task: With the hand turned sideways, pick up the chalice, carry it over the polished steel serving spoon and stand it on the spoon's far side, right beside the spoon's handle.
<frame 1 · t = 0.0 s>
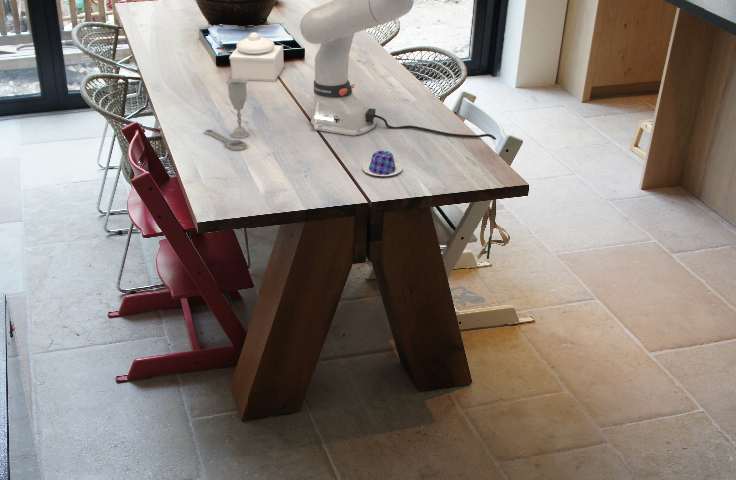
chalice: (240, 135, 282), on the table
spoon: (224, 140, 278), on the table
white square lidded jar: (257, 74, 335), on the table
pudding: (382, 170, 256), on the table
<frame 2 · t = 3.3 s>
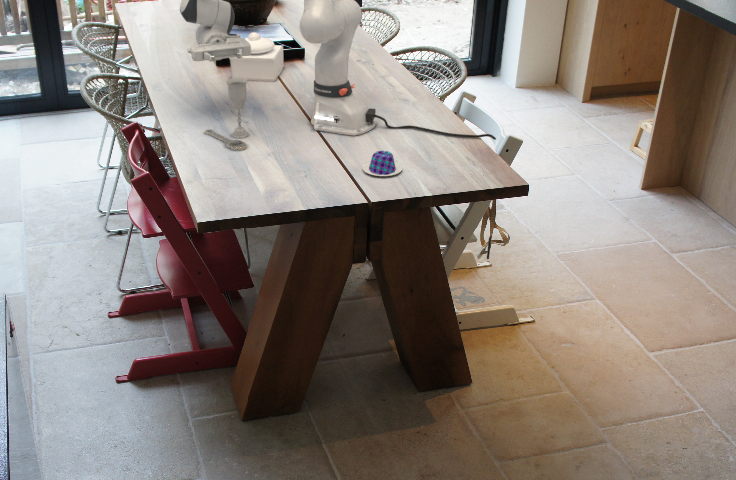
hand: (226, 57, 278), 22 cm above the table, tool horizontal, fingers open, 8 cm apart
nothing on the table moved.
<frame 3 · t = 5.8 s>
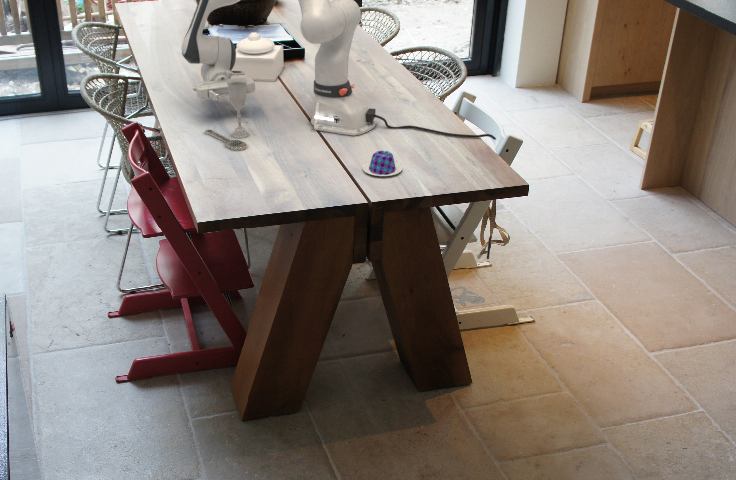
hand: (230, 95, 283), 10 cm above the table, tool horizontal, fingers open, 8 cm apart
nothing on the table moved.
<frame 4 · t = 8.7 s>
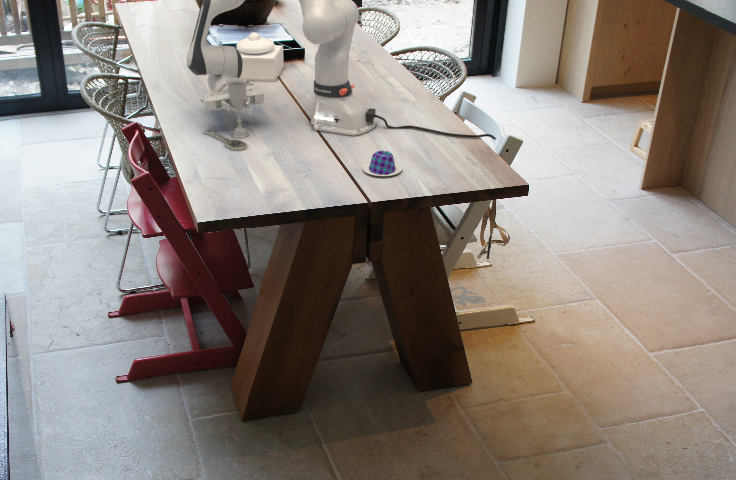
hand: (239, 106, 275), 10 cm above the table, tool horizontal, fingers closed on chalice, 5 cm apart
chalice: (240, 135, 282), on the table, touching gripper
everything else where it was.
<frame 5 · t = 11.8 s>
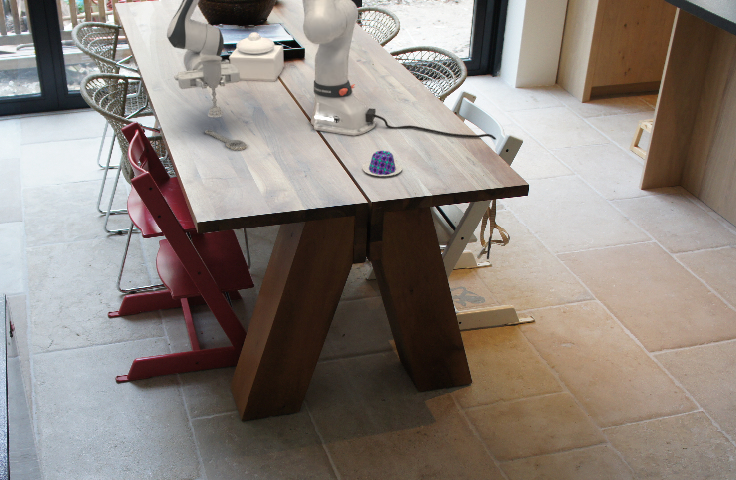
hand: (214, 85, 269), 18 cm above the table, tool horizontal, fingers closed on chalice, 5 cm apart
chalice: (215, 115, 275), point 8 cm above the table, touching gripper
everything else where it was.
when the fingers open (10 cm above the table, at t = 15.4 s): chalice stays where it is, on the table.
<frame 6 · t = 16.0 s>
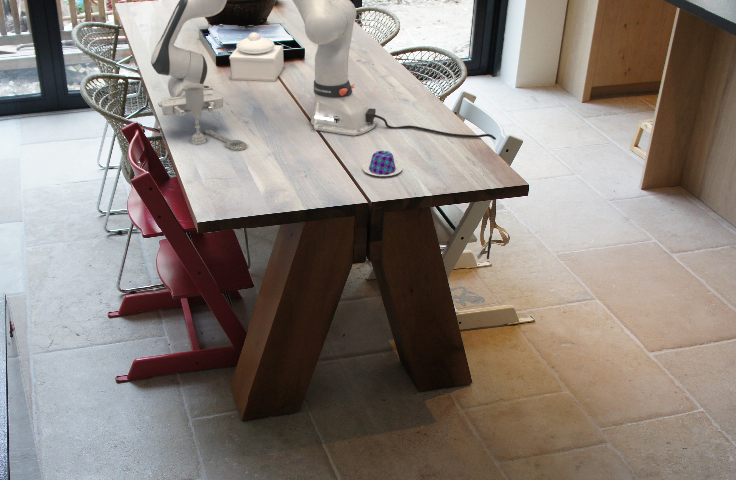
hand: (196, 111, 271), 10 cm above the table, tool horizontal, fingers open, 8 cm apart
chalice: (198, 141, 278), on the table
everything else where it was.
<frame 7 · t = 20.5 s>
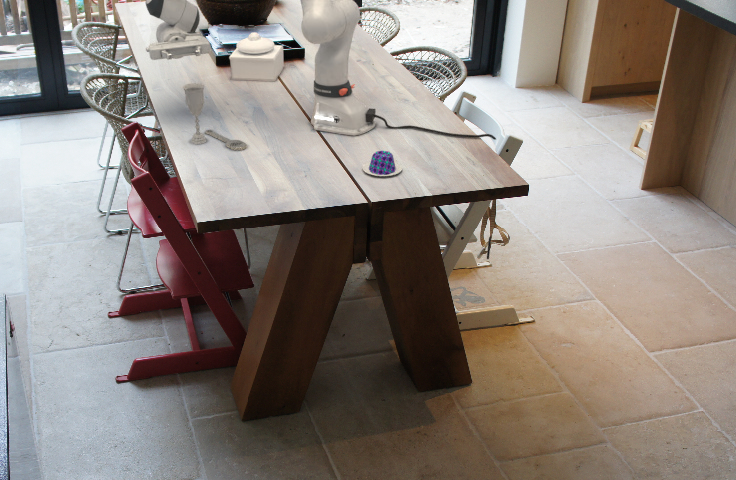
hand: (184, 55, 273), 25 cm above the table, tool horizontal, fingers open, 8 cm apart
nothing on the table moved.
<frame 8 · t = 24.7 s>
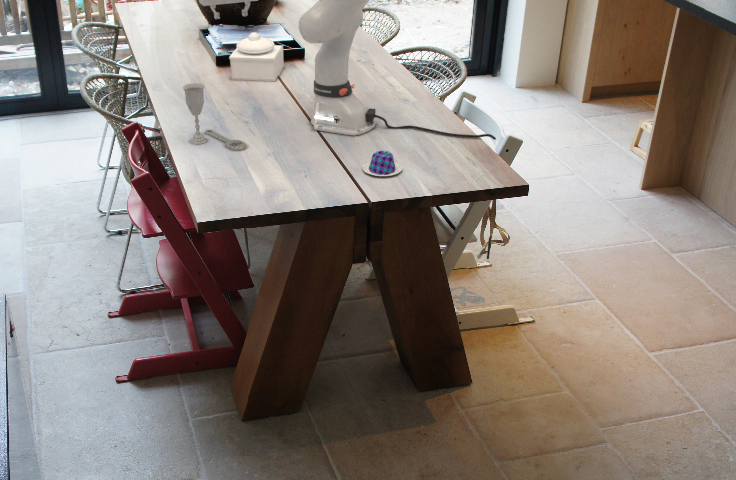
hand: (231, 17, 279), 33 cm above the table, tool pointing down, fingers open, 8 cm apart
nothing on the table moved.
at the end: chalice 0.2 cm from the target spot on the table beside the spoon, on the table; chalice tilted 0°; chalice touching table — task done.
